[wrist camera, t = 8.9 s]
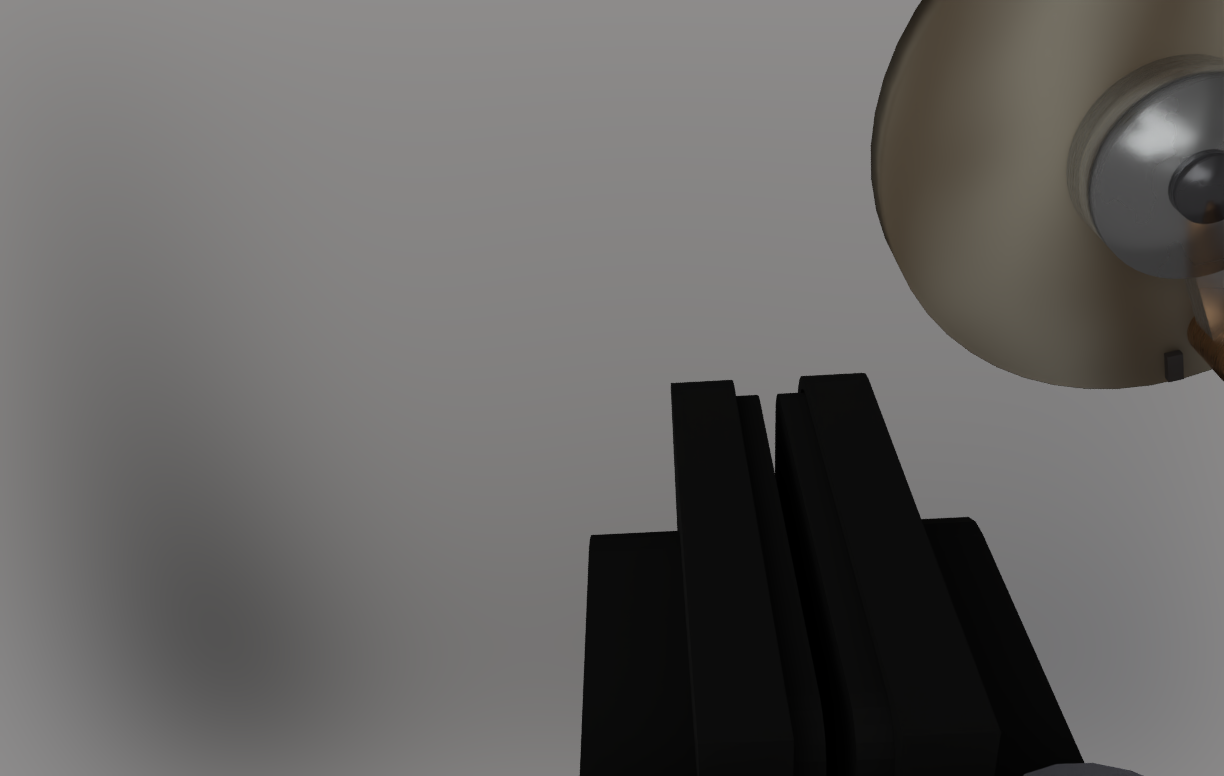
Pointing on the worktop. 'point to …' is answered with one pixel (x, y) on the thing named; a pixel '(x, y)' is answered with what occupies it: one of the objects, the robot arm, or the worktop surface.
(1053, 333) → the stand
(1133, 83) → the crank with wooden handle
